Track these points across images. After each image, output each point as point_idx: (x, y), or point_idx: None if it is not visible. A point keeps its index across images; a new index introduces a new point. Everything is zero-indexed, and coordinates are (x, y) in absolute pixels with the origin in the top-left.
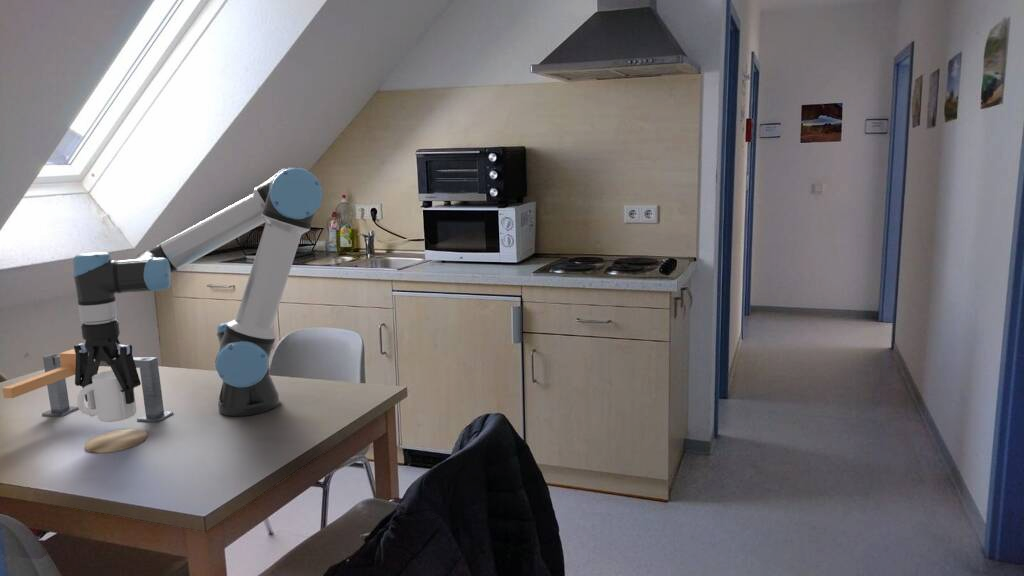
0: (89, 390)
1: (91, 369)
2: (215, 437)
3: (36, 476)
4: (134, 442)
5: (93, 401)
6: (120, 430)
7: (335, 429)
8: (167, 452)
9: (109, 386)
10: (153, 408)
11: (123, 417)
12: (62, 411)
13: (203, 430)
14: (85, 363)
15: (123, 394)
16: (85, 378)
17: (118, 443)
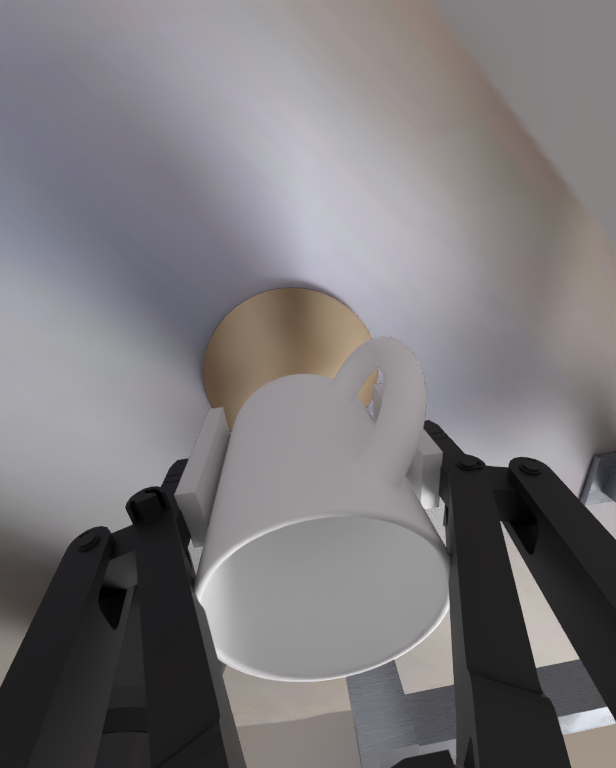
0: (373, 428)
1: (461, 602)
2: (33, 485)
3: (301, 22)
4: (212, 379)
5: None
6: None
7: None
8: (48, 363)
9: (240, 495)
10: None
11: (219, 410)
12: (608, 473)
13: (122, 506)
14: (599, 662)
15: (180, 485)
16: (481, 510)
17: (255, 357)
